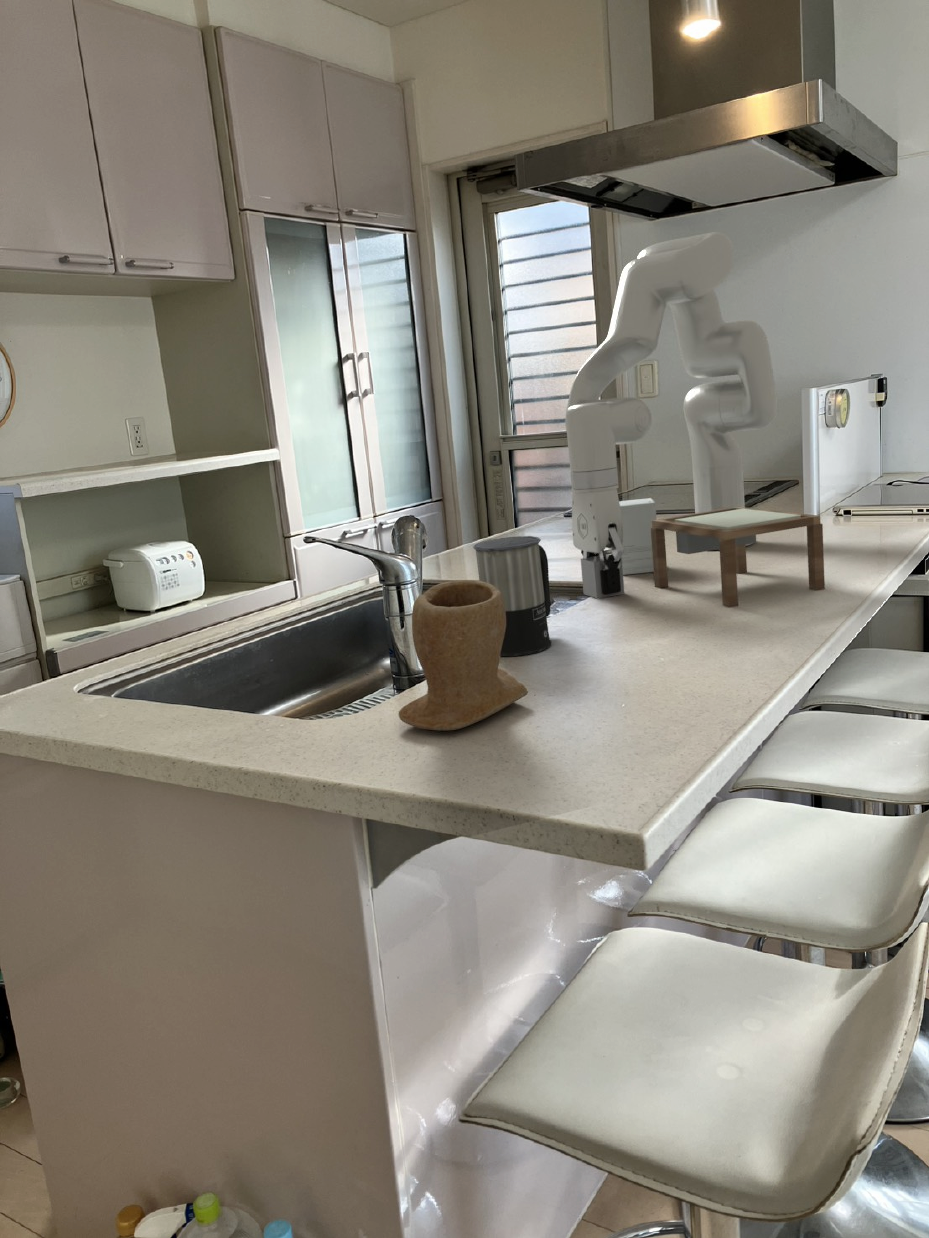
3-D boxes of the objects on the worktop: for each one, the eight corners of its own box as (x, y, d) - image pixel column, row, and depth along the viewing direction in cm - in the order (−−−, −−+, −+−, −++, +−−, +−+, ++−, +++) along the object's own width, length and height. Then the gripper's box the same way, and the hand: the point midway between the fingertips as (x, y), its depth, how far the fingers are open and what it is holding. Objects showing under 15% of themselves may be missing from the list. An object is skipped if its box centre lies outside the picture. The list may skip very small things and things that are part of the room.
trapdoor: (676, 552, 164) (674, 519, 163) (744, 540, 168) (743, 508, 166) (729, 562, 150) (727, 527, 149) (802, 549, 154) (800, 515, 152)
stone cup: (466, 746, 102) (449, 601, 98) (385, 730, 110) (367, 595, 107) (557, 703, 112) (545, 570, 109) (478, 691, 120) (464, 567, 117)
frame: (654, 586, 169) (650, 520, 166) (741, 570, 173) (738, 506, 171) (728, 607, 148) (724, 532, 146) (824, 588, 153) (822, 515, 151)
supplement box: (657, 565, 188) (652, 497, 185) (660, 572, 181) (655, 501, 178) (617, 568, 189) (611, 501, 186) (619, 575, 182) (613, 505, 179)
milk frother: (546, 656, 133) (535, 544, 130) (430, 662, 136) (417, 553, 133) (560, 630, 146) (550, 528, 143) (454, 636, 150) (442, 537, 147)
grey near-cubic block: (583, 594, 169) (580, 558, 168) (610, 589, 171) (607, 554, 169) (596, 598, 164) (593, 562, 163) (624, 593, 166) (621, 557, 165)
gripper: (552, 481, 170) (561, 587, 174) (597, 486, 155) (606, 602, 158) (592, 475, 173) (600, 580, 176) (640, 479, 157) (649, 594, 161)
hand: (603, 589), depth 167 cm, fingers closed on grey near-cubic block, 5 cm apart
